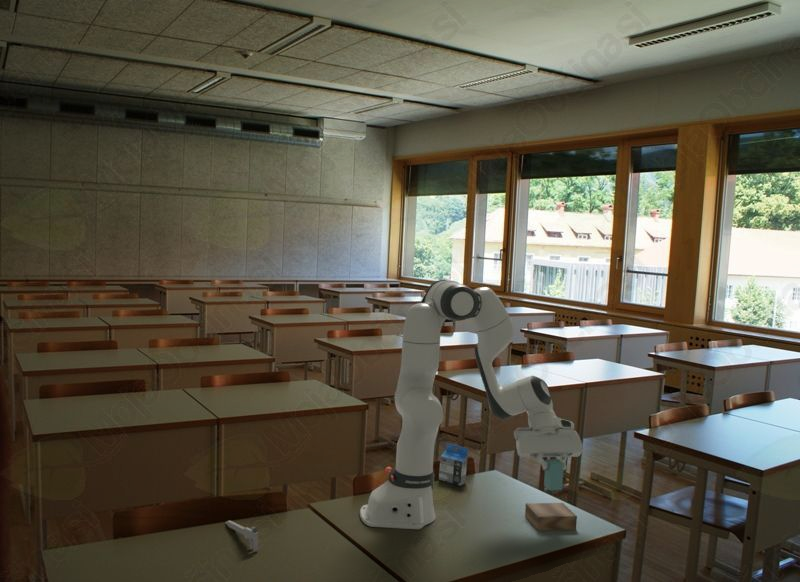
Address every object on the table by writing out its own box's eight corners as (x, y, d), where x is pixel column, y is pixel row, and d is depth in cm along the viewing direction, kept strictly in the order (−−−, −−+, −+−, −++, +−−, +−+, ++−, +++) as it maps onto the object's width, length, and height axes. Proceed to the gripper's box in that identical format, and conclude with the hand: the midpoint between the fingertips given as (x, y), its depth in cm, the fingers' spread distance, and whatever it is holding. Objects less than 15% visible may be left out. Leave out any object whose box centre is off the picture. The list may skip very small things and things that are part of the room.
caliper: (258, 553, 174) (259, 529, 174) (254, 554, 174) (255, 530, 173) (228, 523, 191) (229, 501, 190) (224, 524, 190) (225, 502, 190)
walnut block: (537, 530, 197) (538, 517, 196) (525, 516, 207) (525, 503, 206) (576, 529, 199) (576, 516, 199) (561, 515, 209) (562, 502, 209)
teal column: (549, 490, 200) (550, 463, 199) (543, 485, 204) (545, 459, 203) (561, 490, 200) (563, 463, 200) (556, 485, 204) (558, 459, 204)
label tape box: (438, 480, 234) (440, 445, 233) (444, 477, 237) (446, 442, 236) (460, 486, 229) (462, 450, 228) (466, 483, 232) (468, 448, 231)
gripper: (515, 422, 205) (525, 464, 197) (578, 422, 209) (590, 463, 200) (509, 432, 210) (518, 474, 201) (571, 432, 214) (582, 473, 205)
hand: (555, 469), depth 201 cm, fingers closed on teal column, 4 cm apart
